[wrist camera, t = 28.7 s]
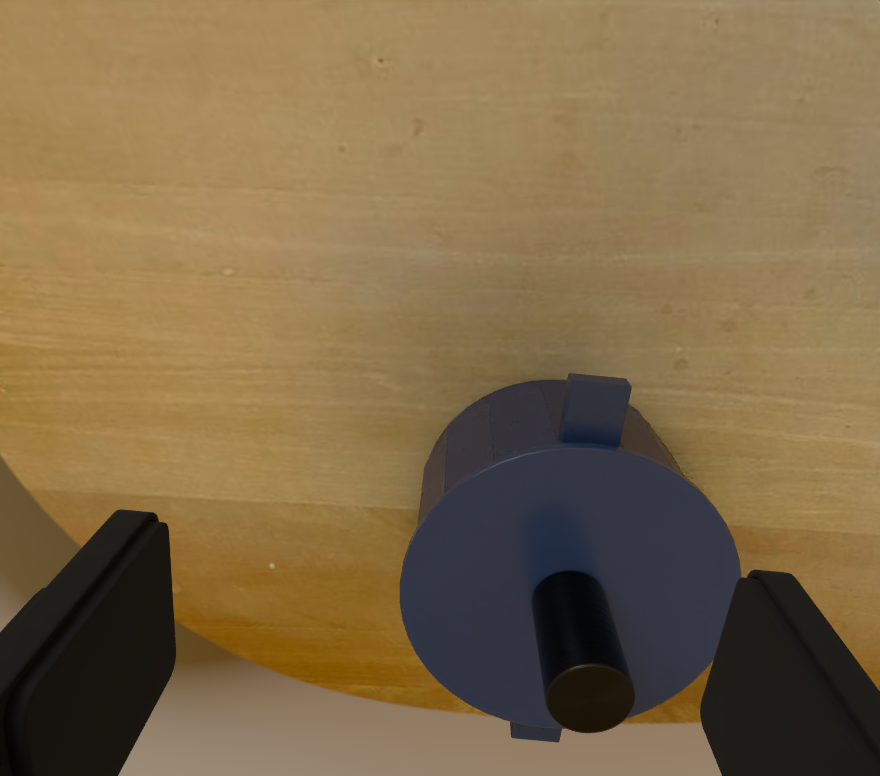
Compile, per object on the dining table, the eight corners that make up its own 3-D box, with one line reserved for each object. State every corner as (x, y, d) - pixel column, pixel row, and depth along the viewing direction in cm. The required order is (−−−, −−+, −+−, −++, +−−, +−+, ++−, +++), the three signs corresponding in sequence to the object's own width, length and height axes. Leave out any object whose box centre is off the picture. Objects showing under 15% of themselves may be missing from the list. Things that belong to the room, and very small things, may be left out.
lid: (770, 453, 28) (857, 545, 22) (691, 723, 33) (743, 859, 27) (414, 419, 28) (400, 502, 22) (391, 695, 33) (374, 825, 27)
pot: (706, 343, 34) (779, 407, 27) (634, 643, 41) (675, 765, 33) (438, 317, 34) (430, 373, 26) (410, 621, 41) (397, 739, 33)
